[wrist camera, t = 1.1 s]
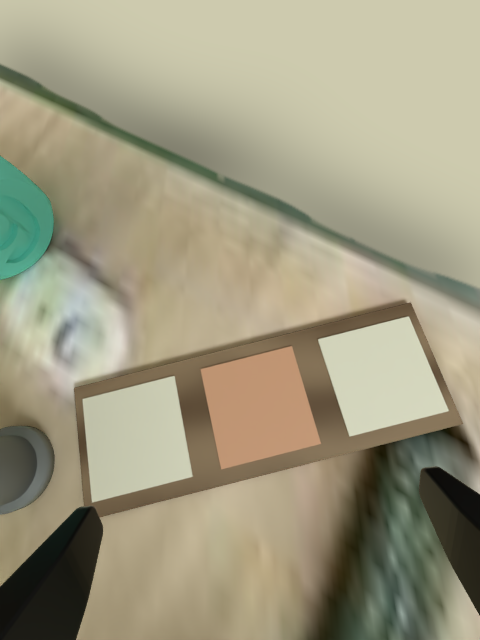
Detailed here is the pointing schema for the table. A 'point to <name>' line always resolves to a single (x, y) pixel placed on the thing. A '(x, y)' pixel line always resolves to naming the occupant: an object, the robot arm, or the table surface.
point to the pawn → (23, 466)
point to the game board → (258, 409)
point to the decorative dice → (22, 221)
